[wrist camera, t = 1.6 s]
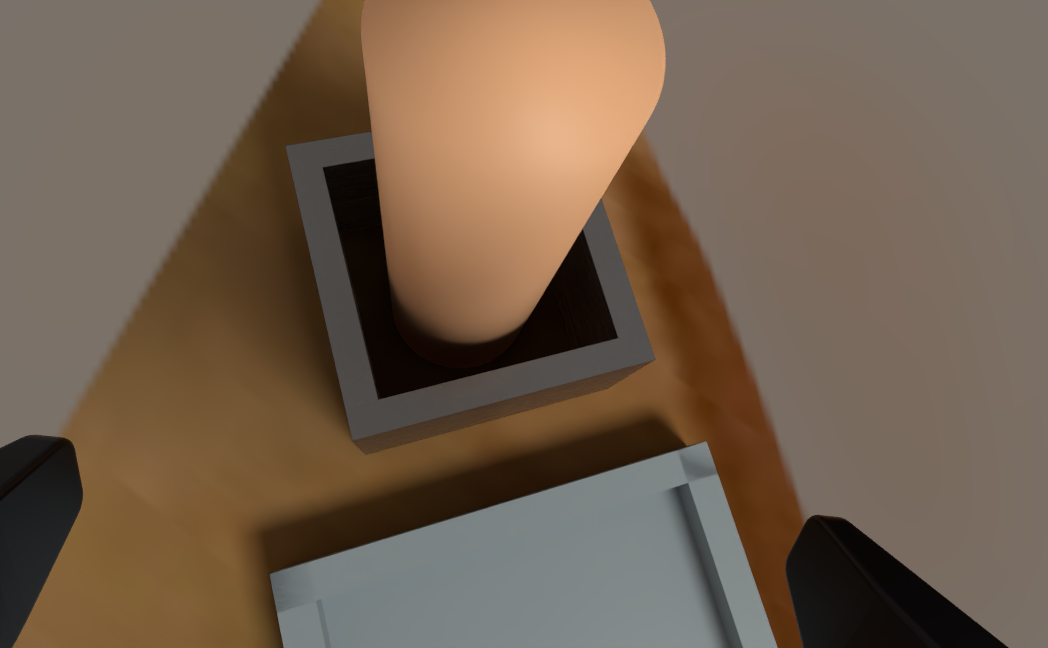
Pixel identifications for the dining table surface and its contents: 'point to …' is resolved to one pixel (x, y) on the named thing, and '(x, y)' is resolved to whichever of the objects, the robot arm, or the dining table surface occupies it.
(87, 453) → the dining table surface
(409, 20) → the peg
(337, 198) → the square socket holder
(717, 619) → the tray
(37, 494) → the robot arm
